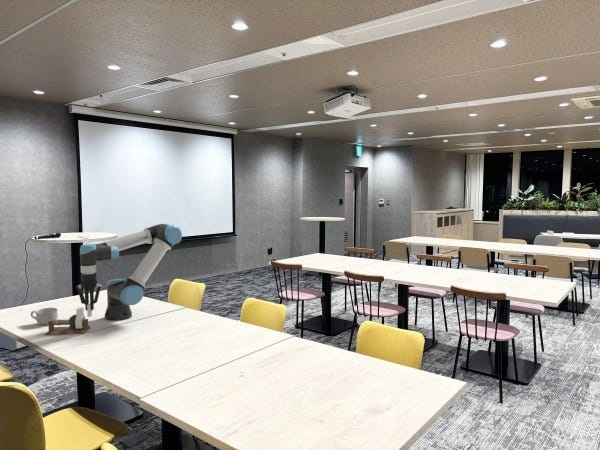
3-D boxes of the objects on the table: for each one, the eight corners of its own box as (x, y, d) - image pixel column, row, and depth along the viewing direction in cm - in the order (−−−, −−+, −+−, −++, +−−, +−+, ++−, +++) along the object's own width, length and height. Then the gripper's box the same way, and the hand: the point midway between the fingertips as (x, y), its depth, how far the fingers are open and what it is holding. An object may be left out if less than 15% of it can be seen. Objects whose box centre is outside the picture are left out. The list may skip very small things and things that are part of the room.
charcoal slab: (77, 325, 234) (77, 314, 233) (72, 329, 228) (72, 317, 227) (74, 325, 234) (74, 314, 233) (69, 329, 227) (69, 317, 227)
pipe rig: (91, 327, 237) (90, 315, 237) (83, 333, 226) (83, 321, 226) (54, 328, 235) (54, 317, 234) (45, 335, 224) (44, 323, 223)
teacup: (62, 321, 248) (61, 307, 248) (49, 327, 238) (49, 312, 237) (39, 320, 250) (39, 307, 249) (26, 326, 239) (25, 312, 238)
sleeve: (85, 325, 234) (84, 306, 233) (81, 328, 228) (80, 309, 228) (79, 325, 234) (79, 306, 233) (75, 328, 228) (74, 309, 227)
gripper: (103, 271, 234) (104, 313, 236) (78, 271, 232) (79, 314, 234) (99, 273, 227) (100, 317, 228) (73, 274, 225) (74, 318, 227)
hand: (89, 316), depth 231 cm, fingers closed
